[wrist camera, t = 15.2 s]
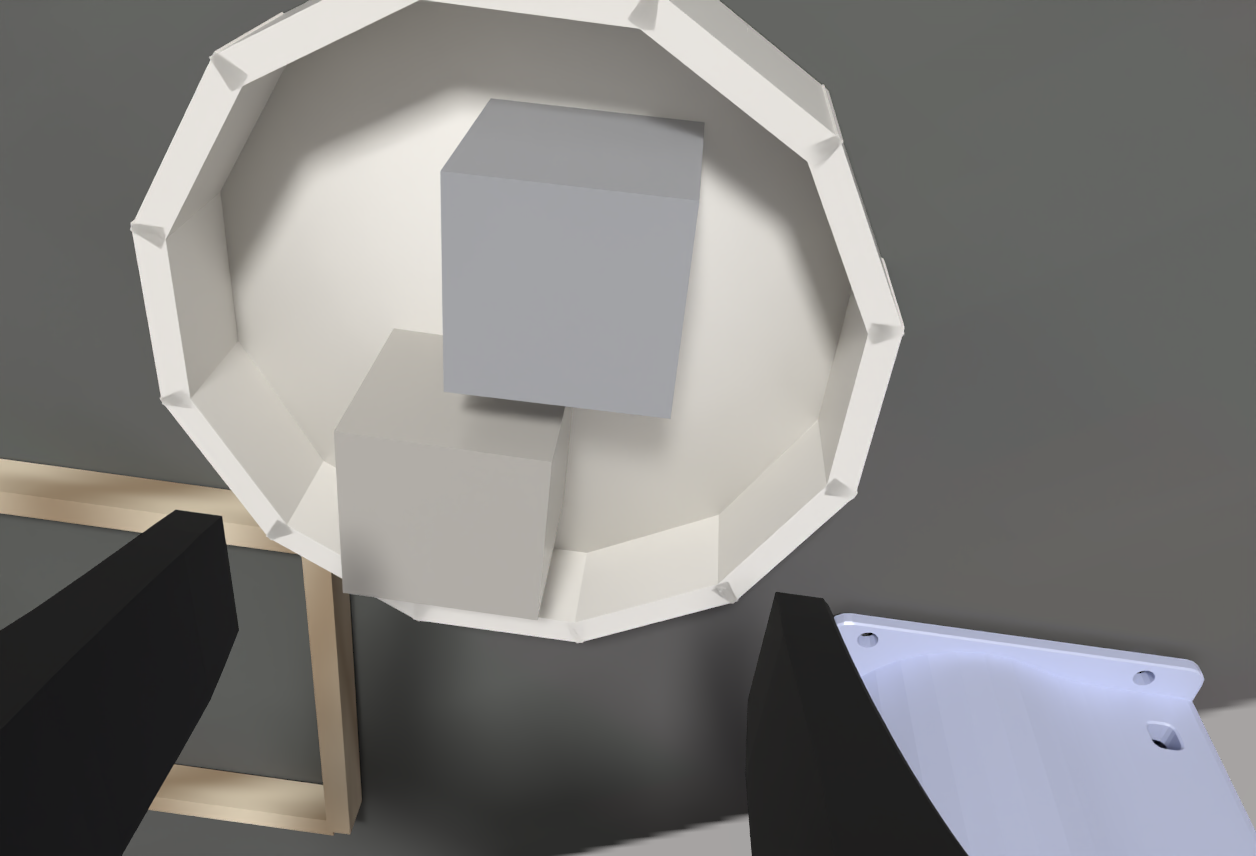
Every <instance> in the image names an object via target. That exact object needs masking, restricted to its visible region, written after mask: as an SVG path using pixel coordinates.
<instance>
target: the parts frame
mask: <svg viewBox="0 0 1256 856" xmlns="http://www.w3.org/2000/svg"><path fill="white" fill-rule="evenodd" d="M174 510H183V511H190V512H197V513H204V514H212V515H219V516H222V519H223V525H224V532H225V539H226V544H228V545H236V546H243V547H250V548H257V549H265V550H272V551H279V552H287V553H294V554H297V553H295V552H293V551H291V550H290V549H288V548H286V547H284V546H282V545H281V544H279V543H277V542H275V541H273V540H270V539H269V538H268V537H266V534H265V533H264V531H263V530H262V529H261V527H260V526H259V525H258V524H257V522H256V521H255V520H254V518H253V517H252V516H251V515H250V513H249V512H248V511H247V510H246V508H245V507H244V506H243V504H242V503H241V502H240V501H239V499H238V498H237V497H236V495H235V494H234V493H233V492H232V490H225V489H218V488H210V487H203V486H196V485H188V484H181V483H174V482H166V481H159V480H152V479H145V478H137V477H130V476H123V475H115V474H108V473H101V472H93V471H86V470H79V469H72V468H64V467H57V466H50V465H42V464H35V463H28V462H21V461H13V460H6V459H0V513H3V514H10V515H17V516H25V517H32V518H39V519H47V520H54V521H61V522H68V523H76V524H83V525H90V526H97V527H105V528H112V529H119V530H127V531H134V532H141V533H143V532H144V531H146V530H147V529H148V528H150V527H151V526H153V525H154V524H155V523H157V522H158V521H160V520H161V519H163V518H164V517H166V516H167V515H169V514H170V513H171V512H173V511H174ZM302 563H303V574H304V585H305V596H306V606H307V617H308V628H309V638H310V649H311V660H312V671H313V681H314V692H315V703H316V713H317V724H318V735H319V746H320V756H321V767H322V778H323V785H319V784H312V783H305V782H298V781H291V780H283V779H276V778H269V777H262V776H255V775H248V774H240V773H233V772H226V771H219V770H212V769H205V768H197V767H190V766H183V765H176V764H174V765H173V767H172V769H171V770H170V772H169V774H168V776H167V777H166V779H165V781H164V783H163V784H162V786H161V788H160V790H159V791H158V793H157V795H156V797H155V798H154V800H153V802H152V804H151V805H150V807H149V809H148V810H155V811H162V812H169V813H176V814H183V815H190V816H198V817H205V818H212V819H219V820H226V821H233V822H241V823H248V824H255V825H262V826H269V827H276V828H283V829H291V830H298V831H305V832H312V833H319V834H326V835H334V833H335V832H336V833H344V834H351V831H352V828H353V825H354V822H355V819H356V816H357V813H358V811H359V808H360V805H361V802H362V794H361V777H360V761H359V744H358V728H357V711H356V694H355V678H354V661H353V645H352V628H351V612H350V595H349V594H348V593H343V584H342V578H340V577H338V576H336V575H335V574H333V573H331V572H329V571H327V570H326V569H324V568H322V567H320V566H318V565H317V564H315V563H313V562H311V561H309V560H308V559H306V558H304V557H302Z"/></svg>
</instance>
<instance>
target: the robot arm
mask: <svg viewBox="0 0 1256 856" xmlns="http://www.w3.org/2000/svg"><path fill="white" fill-rule="evenodd" d="M238 631H239V628H238V621H237V614H236V607H235V600H234V594H233V587H232V580H231V573H230V566H229V559H228V553H227V546H226V539H225V532H224V525H223V519H222V516H219V515H212V514H204V513H197V512H190V511H183V510H174V511H173V512H171V513H170V514H169V515H167V516H166V517H164V518H163V519H161V520H160V521H158V522H157V523H155V524H154V525H153V526H151V527H150V528H148V529H147V530H146V531H144V532H143V533H141V534H140V535H139V536H137V537H136V538H135V539H133V540H132V541H130V542H129V543H128V544H126V545H125V546H123V547H122V548H121V549H119V550H118V551H116V552H115V553H114V554H112V555H111V556H109V557H108V558H107V559H105V560H104V561H102V562H101V563H100V564H98V565H97V566H95V567H94V568H93V569H91V570H90V571H88V572H87V573H86V574H84V575H83V576H81V577H80V578H78V579H77V580H76V581H74V582H73V583H71V584H70V585H68V586H67V587H65V588H64V589H63V590H61V591H60V592H58V593H57V594H55V595H54V596H52V597H51V598H50V599H48V600H47V601H45V602H44V603H42V604H41V605H39V606H38V607H36V608H35V609H34V610H32V611H30V612H29V613H27V614H26V615H24V616H23V617H21V618H19V619H18V620H16V621H15V622H13V623H12V624H10V625H8V626H7V627H5V628H4V629H2V630H1V631H0V856H122V854H123V852H124V851H125V849H126V847H127V845H128V844H129V842H130V840H131V838H132V837H133V835H134V833H135V831H136V830H137V828H138V826H139V824H140V823H141V821H142V819H143V817H144V816H145V814H146V812H147V810H148V809H149V807H150V805H151V804H152V802H153V800H154V798H155V797H156V795H157V793H158V791H159V790H160V788H161V786H162V784H163V783H164V781H165V779H166V777H167V776H168V774H169V772H170V770H171V769H172V767H173V765H174V764H175V762H176V760H177V758H178V757H179V755H180V753H181V751H182V749H183V748H184V746H185V744H186V742H187V741H188V739H189V737H190V735H191V734H192V732H193V730H194V728H195V726H196V725H197V723H198V721H199V719H200V718H201V716H202V714H203V712H204V710H205V708H206V707H207V705H208V703H209V701H210V699H211V697H212V694H213V692H214V690H215V687H216V685H217V683H218V680H219V678H220V676H221V673H222V671H223V669H224V666H225V664H226V661H227V659H228V656H229V653H230V651H231V648H232V646H233V643H234V641H235V638H236V636H237V633H238ZM863 633H873V634H872V635H870V636H861V634H863ZM1141 671H1145V672H1142V673H1138V672H1141ZM1203 681H1204V677H1203V674H1202V672H1201V670H1200V668H1199V666H1198V665H1197V664H1196V663H1195V662H1193V661H1190V660H1187V659H1180V658H1173V657H1165V656H1158V655H1151V654H1144V653H1136V652H1129V651H1122V650H1115V649H1107V648H1100V647H1093V646H1085V645H1078V644H1071V643H1064V642H1056V641H1049V640H1042V639H1034V638H1027V637H1020V636H1013V635H1005V634H998V633H991V632H983V631H976V630H969V629H962V628H954V627H947V626H940V625H933V624H925V623H918V622H911V621H903V620H896V619H889V618H882V617H874V616H867V615H860V614H852V613H843V614H840V615H836V616H835V617H833V615H832V612H831V610H830V607H829V606H828V604H827V603H826V602H825V600H824V599H823V598H816V597H809V596H802V595H794V594H787V593H780V592H776V593H775V597H774V601H773V604H772V608H771V612H770V616H769V620H768V624H767V628H766V632H765V636H764V640H763V643H762V647H761V651H760V655H759V659H758V663H757V667H756V671H755V675H754V679H753V682H752V686H751V690H750V694H749V698H748V713H747V739H746V787H747V800H748V813H749V825H750V837H751V850H752V856H1256V831H1255V829H1254V827H1253V825H1252V823H1251V821H1250V819H1249V817H1248V815H1247V813H1246V810H1245V808H1244V807H1243V804H1242V802H1241V800H1240V798H1239V796H1238V794H1237V792H1236V790H1235V788H1234V786H1233V784H1232V782H1231V780H1230V778H1229V776H1228V774H1227V772H1226V769H1225V767H1224V765H1223V763H1222V761H1221V759H1220V757H1219V755H1218V753H1217V751H1216V749H1215V747H1214V745H1213V743H1212V741H1211V739H1210V737H1209V735H1208V733H1207V731H1206V729H1205V727H1204V724H1203V723H1202V720H1201V718H1200V716H1199V714H1198V712H1197V710H1196V708H1195V706H1194V704H1193V702H1192V701H1193V699H1194V698H1195V696H1196V694H1197V693H1198V691H1199V690H1200V688H1201V686H1202V685H1203Z"/></svg>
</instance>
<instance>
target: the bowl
mask: <svg viewBox="0 0 1256 856" xmlns="http://www.w3.org/2000/svg"><path fill="white" fill-rule="evenodd" d="M209 58H210V59H211V60H210V62H209V64H208V66H207V69H206V71H205V73H204V75H203V77H202V79H201V81H200V83H199V85H198V87H197V90H196V92H195V94H194V96H193V98H192V100H191V102H190V104H189V106H188V109H187V111H186V113H185V115H184V117H183V119H182V121H181V123H180V125H179V128H178V130H177V132H176V134H175V136H174V138H173V140H172V142H171V144H170V146H169V149H168V151H167V153H166V155H165V157H164V159H163V161H162V163H161V165H160V168H159V170H158V172H157V174H156V176H155V178H154V180H153V182H152V184H151V187H150V189H149V191H148V193H147V195H146V197H145V199H144V201H143V203H142V205H141V208H140V210H139V212H138V214H137V216H136V218H135V220H134V221H132V222H131V229H130V230H131V231H132V233H133V239H134V245H135V250H136V256H137V262H138V267H139V273H140V279H141V285H142V290H143V296H144V302H145V307H146V313H147V319H148V325H149V330H150V336H151V342H152V347H153V353H154V359H155V365H156V370H157V376H158V382H159V387H160V393H161V398H160V400H161V401H162V405H165V406H166V407H167V409H168V410H169V411H170V412H171V414H172V415H173V416H174V417H175V419H176V420H177V421H178V423H179V424H180V425H181V426H182V428H183V429H184V430H185V432H186V433H187V434H188V435H189V437H190V438H191V439H192V440H193V442H194V443H195V444H196V446H197V447H198V448H199V449H200V451H201V452H202V453H203V455H204V456H205V457H206V458H207V460H208V461H209V462H210V463H211V465H212V466H213V467H214V469H215V470H216V471H217V472H218V474H219V475H220V476H221V478H222V479H223V480H224V481H225V483H226V484H227V485H228V486H229V488H230V489H231V490H232V492H233V493H234V494H235V495H236V497H237V498H238V499H239V501H240V502H241V503H242V504H243V506H244V507H245V508H246V510H247V511H248V512H249V513H250V515H251V516H252V517H253V518H254V520H255V521H256V522H257V524H258V525H259V526H260V527H261V529H262V530H263V531H264V533H265V534H266V537H268V538H269V539H270V540H273V541H275V542H277V543H279V544H281V545H282V546H284V547H286V548H288V549H290V550H291V551H293V552H295V553H297V554H299V555H300V556H302V557H304V558H306V559H308V560H309V561H311V562H313V563H315V564H317V565H318V566H320V567H322V568H324V569H326V570H327V571H329V572H331V573H333V574H335V575H336V576H338V577H340V578H342V566H341V549H340V531H339V513H338V496H337V478H336V461H335V443H334V430H335V428H336V427H337V425H338V423H339V422H340V420H341V418H342V416H343V415H344V413H345V411H346V410H347V408H348V406H349V404H350V403H351V401H352V399H353V397H354V396H355V394H356V392H357V391H358V389H359V387H360V385H361V384H362V382H363V380H364V378H365V377H366V375H367V373H368V372H369V370H370V368H371V366H372V365H373V363H374V361H375V360H376V358H377V356H378V354H379V353H380V351H381V349H382V347H383V346H384V344H385V342H386V341H387V339H388V337H389V335H390V334H391V332H392V330H393V328H395V329H402V330H409V331H416V332H423V333H430V334H437V335H443V317H442V251H441V186H440V171H441V169H442V168H443V166H444V165H445V164H446V162H447V161H448V159H449V158H450V156H451V155H452V153H453V152H454V151H455V149H456V148H457V146H458V145H459V143H460V142H461V140H462V139H463V138H464V136H465V135H466V133H467V132H468V130H469V129H470V127H471V126H472V125H473V123H474V122H475V120H476V119H477V117H478V116H479V115H480V113H481V112H482V110H483V109H484V107H485V106H486V104H487V103H488V102H489V100H490V99H491V98H493V99H502V100H511V101H519V102H528V103H537V104H546V105H555V106H564V107H573V108H581V109H590V110H599V111H608V112H617V113H626V114H635V115H644V116H652V117H661V118H670V119H679V120H688V121H697V122H705V125H704V140H703V155H702V170H701V185H700V200H699V208H698V216H697V223H696V231H695V238H694V246H693V253H692V261H691V268H690V276H689V283H688V291H687V298H686V306H685V313H684V321H683V328H682V336H681V344H680V351H679V359H678V366H677V374H676V381H675V389H674V396H673V404H672V411H671V419H667V418H659V417H650V416H642V415H634V414H625V413H617V412H608V411H600V410H592V409H583V408H575V407H573V413H572V423H571V433H570V443H569V453H568V463H567V473H566V483H565V493H564V502H563V506H562V511H561V515H560V520H559V525H558V529H557V534H556V538H555V543H554V547H553V552H552V557H551V561H550V566H549V570H548V575H547V579H546V584H545V589H544V593H543V598H542V602H541V607H540V611H539V616H538V620H531V619H524V618H517V617H510V616H503V615H496V614H489V613H482V612H475V611H468V610H461V609H454V608H447V607H440V606H433V605H426V604H419V603H412V602H404V601H397V600H390V599H383V598H378V599H380V600H382V601H383V602H385V603H387V604H389V605H391V606H392V607H394V608H396V609H398V610H400V611H401V612H403V613H405V614H407V615H409V616H410V617H412V618H413V620H418V621H419V622H420V621H427V622H435V623H442V624H449V625H456V626H464V627H471V628H478V629H485V630H493V631H500V632H507V633H514V634H522V635H529V636H536V637H543V638H551V639H558V640H565V641H572V642H576V643H583V641H587V640H591V639H595V638H599V637H603V636H606V635H610V634H614V633H618V632H622V631H625V630H629V629H633V628H637V627H641V626H645V625H648V624H652V623H656V622H660V621H664V620H667V619H671V618H675V617H679V616H683V615H687V614H690V613H694V612H698V611H702V610H706V609H709V608H713V607H717V606H721V605H725V604H729V603H732V604H733V603H734V602H736V601H738V599H739V598H740V597H741V596H742V595H743V594H744V593H745V592H747V591H748V590H749V589H750V588H751V587H752V586H753V585H754V584H756V583H757V582H758V581H759V580H760V579H761V578H762V577H764V576H765V575H766V574H767V573H768V572H769V571H770V570H771V569H773V568H774V567H775V566H776V565H777V564H778V563H779V562H781V561H782V560H783V559H784V558H785V557H786V556H787V555H789V554H790V553H791V552H792V551H793V550H794V549H795V548H796V547H798V546H799V545H800V544H801V543H802V542H803V541H804V540H806V539H807V538H808V537H809V536H810V535H811V534H812V533H813V532H815V531H816V530H817V529H818V528H819V527H820V526H821V525H823V524H824V523H825V522H826V521H827V520H828V519H829V518H831V517H832V516H833V515H834V514H835V513H836V512H837V511H838V510H840V509H841V508H842V507H843V506H844V505H845V504H846V503H848V502H849V501H850V500H851V499H854V498H855V495H857V494H858V493H857V487H858V484H859V481H860V477H861V474H862V470H863V467H864V464H865V460H866V457H867V453H868V450H869V447H870V443H871V440H872V436H873V433H874V430H875V426H876V423H877V419H878V416H879V413H880V409H881V406H882V402H883V399H884V396H885V392H886V389H887V385H888V382H889V379H890V375H891V372H892V368H893V365H894V362H895V358H896V355H897V351H898V348H899V345H900V341H901V338H902V335H904V328H905V327H904V324H903V321H902V317H901V314H900V311H899V307H898V304H897V301H896V298H895V294H894V291H893V288H892V285H891V281H890V278H889V275H888V272H887V268H886V265H885V262H884V258H881V255H880V252H879V249H878V246H877V243H876V240H875V237H874V234H873V231H872V228H871V225H870V222H869V219H868V216H867V213H866V210H865V207H864V204H863V201H862V198H861V195H860V192H859V189H858V186H857V183H856V180H855V177H854V174H853V171H852V167H851V164H850V161H849V158H848V155H847V152H846V149H845V146H844V143H843V139H842V135H841V132H840V128H839V125H838V122H837V118H836V115H835V111H834V108H833V105H832V101H831V98H830V94H829V91H828V90H827V89H826V88H825V86H824V84H823V85H821V84H820V83H819V82H817V81H816V80H815V79H814V78H813V77H811V76H810V75H809V74H808V73H806V72H805V71H804V70H803V69H802V68H800V67H799V66H798V65H797V64H796V63H794V62H793V61H792V60H791V59H789V58H788V57H787V56H786V55H785V54H783V53H782V52H781V51H780V50H779V49H777V48H776V47H775V46H774V45H772V44H771V43H770V42H769V41H768V40H766V39H765V38H764V37H763V36H762V35H760V34H759V33H758V32H757V31H755V30H754V29H753V28H752V27H751V26H749V25H748V24H747V23H746V22H745V21H743V20H742V19H741V18H740V17H738V16H737V15H736V14H735V13H734V12H732V11H731V10H730V9H729V8H727V7H726V6H725V5H724V4H723V3H721V2H720V1H719V0H310V1H308V2H306V3H304V4H302V5H300V6H298V7H296V8H294V9H292V10H290V11H288V12H286V13H283V12H281V13H280V14H278V15H276V16H274V17H273V18H271V19H269V20H268V21H266V22H264V23H262V24H261V25H259V26H257V27H256V28H254V29H252V30H250V31H249V32H247V33H245V34H244V35H242V36H240V37H238V38H237V39H235V40H233V41H232V42H230V43H228V44H226V45H225V46H223V47H221V48H220V49H218V50H216V51H215V52H214V54H213V55H212V56H210V57H209Z"/></svg>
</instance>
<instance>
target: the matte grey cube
mask: <svg viewBox="0 0 1256 856" xmlns="http://www.w3.org/2000/svg"><path fill="white" fill-rule="evenodd" d="M704 125H705V122H697V121H688V120H679V119H670V118H661V117H652V116H644V115H635V114H626V113H617V112H608V111H599V110H590V109H581V108H573V107H564V106H555V105H546V104H537V103H528V102H519V101H511V100H502V99H493V98H491V99H490V100H489V102H488V103H487V104H486V106H485V107H484V109H483V110H482V112H481V113H480V115H479V116H478V117H477V119H476V120H475V122H474V123H473V125H472V126H471V127H470V129H469V130H468V132H467V133H466V135H465V136H464V138H463V139H462V140H461V142H460V143H459V145H458V146H457V148H456V149H455V151H454V152H453V153H452V155H451V156H450V158H449V159H448V161H447V162H446V164H445V165H444V166H443V168H442V169H441V171H440V186H441V251H442V317H443V383H444V392H449V393H457V394H466V395H474V396H482V397H491V398H499V399H508V400H516V401H524V402H533V403H541V404H550V405H558V406H566V407H575V408H583V409H592V410H600V411H608V412H617V413H625V414H634V415H642V416H650V417H659V418H667V419H671V411H672V404H673V396H674V389H675V381H676V374H677V366H678V359H679V351H680V344H681V336H682V328H683V321H684V313H685V306H686V298H687V291H688V283H689V276H690V268H691V261H692V253H693V246H694V238H695V231H696V223H697V216H698V208H699V200H700V185H701V170H702V155H703V140H704Z"/></svg>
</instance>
